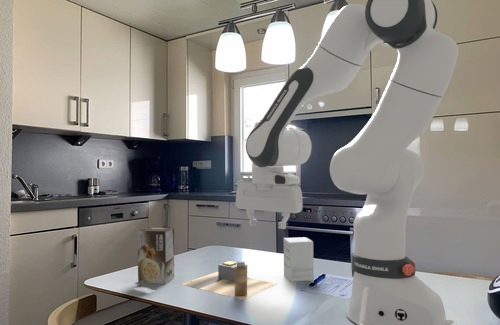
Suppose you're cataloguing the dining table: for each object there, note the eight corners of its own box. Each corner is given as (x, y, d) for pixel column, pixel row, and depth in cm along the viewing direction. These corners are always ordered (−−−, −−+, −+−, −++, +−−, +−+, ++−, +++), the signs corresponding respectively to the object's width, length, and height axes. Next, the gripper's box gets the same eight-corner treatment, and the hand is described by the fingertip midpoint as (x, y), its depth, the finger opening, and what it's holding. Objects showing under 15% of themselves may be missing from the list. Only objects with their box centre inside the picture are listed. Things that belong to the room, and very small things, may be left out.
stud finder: (247, 278, 111) (247, 263, 111) (237, 282, 107) (237, 266, 107) (228, 274, 115) (228, 259, 115) (218, 278, 111) (218, 263, 111)
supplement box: (306, 277, 116) (306, 236, 116) (314, 284, 109) (313, 241, 109) (283, 278, 115) (283, 237, 115) (289, 285, 107) (289, 241, 108)
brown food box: (175, 281, 112) (175, 227, 112) (166, 288, 105) (166, 231, 106) (147, 279, 114) (147, 226, 114) (136, 286, 107) (136, 230, 108)
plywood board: (276, 287, 105) (276, 283, 106) (243, 304, 92) (243, 299, 92) (217, 275, 118) (217, 271, 118) (180, 288, 105) (180, 284, 105)
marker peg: (249, 293, 97) (249, 262, 97) (242, 297, 94) (242, 264, 95) (239, 291, 99) (239, 260, 99) (232, 294, 96) (232, 262, 96)
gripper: (231, 176, 107) (231, 224, 107) (294, 178, 96) (294, 232, 96) (244, 176, 113) (243, 222, 112) (305, 177, 101) (305, 229, 101)
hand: (267, 227), depth 104 cm, fingers open, 8 cm apart
